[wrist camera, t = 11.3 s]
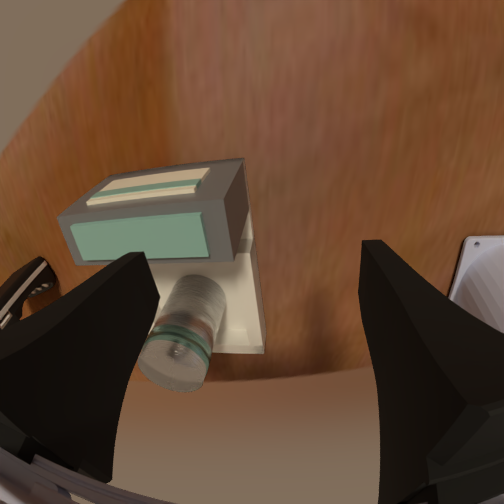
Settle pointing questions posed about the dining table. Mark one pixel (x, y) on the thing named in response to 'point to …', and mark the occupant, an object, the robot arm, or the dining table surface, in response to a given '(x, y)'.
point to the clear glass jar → (184, 335)
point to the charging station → (179, 236)
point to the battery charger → (23, 289)
